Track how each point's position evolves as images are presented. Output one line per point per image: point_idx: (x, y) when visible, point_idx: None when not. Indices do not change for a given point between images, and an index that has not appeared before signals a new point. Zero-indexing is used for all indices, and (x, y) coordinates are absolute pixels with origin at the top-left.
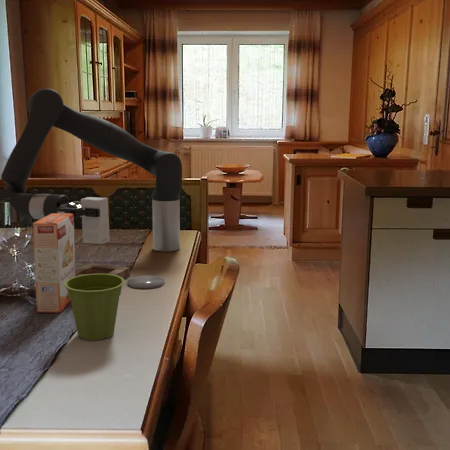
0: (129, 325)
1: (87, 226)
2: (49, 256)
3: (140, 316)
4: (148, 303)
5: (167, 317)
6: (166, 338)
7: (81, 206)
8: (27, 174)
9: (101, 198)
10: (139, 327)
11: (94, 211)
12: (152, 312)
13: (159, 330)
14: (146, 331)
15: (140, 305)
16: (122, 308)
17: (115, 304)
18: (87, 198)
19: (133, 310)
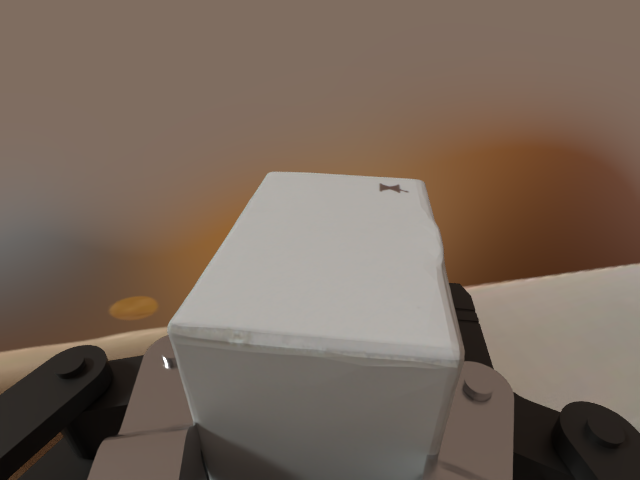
0: (633, 325)
1: None
2: None
3: (572, 323)
4: (487, 332)
5: (534, 284)
6: (616, 266)
7: (441, 440)
8: None
9: (321, 187)
10: (622, 308)
11: (463, 293)
12: (532, 311)
13: (599, 280)
14: (624, 294)
15: (512, 343)
16: (564, 372)
17: None
18: (374, 280)
19: (553, 345)
